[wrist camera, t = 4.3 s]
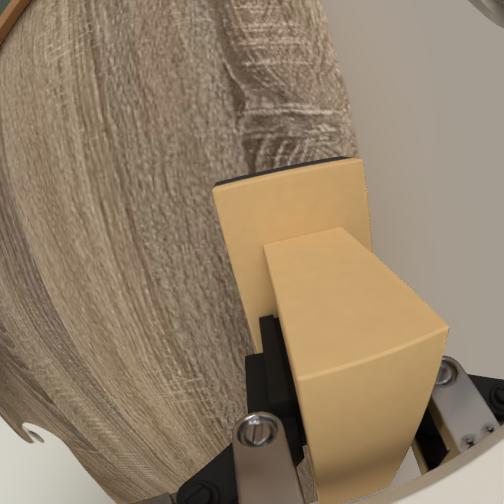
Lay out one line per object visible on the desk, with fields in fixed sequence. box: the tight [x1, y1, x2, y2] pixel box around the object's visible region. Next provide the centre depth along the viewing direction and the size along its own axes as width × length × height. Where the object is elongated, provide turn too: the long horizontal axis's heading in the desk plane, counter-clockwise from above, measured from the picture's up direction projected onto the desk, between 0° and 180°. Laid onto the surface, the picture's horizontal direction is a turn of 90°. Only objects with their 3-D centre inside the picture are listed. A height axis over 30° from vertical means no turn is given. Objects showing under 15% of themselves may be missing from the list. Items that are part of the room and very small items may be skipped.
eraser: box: [212, 156, 449, 504], centre depth 9 cm, size 5×12×8 cm, turn 13°
